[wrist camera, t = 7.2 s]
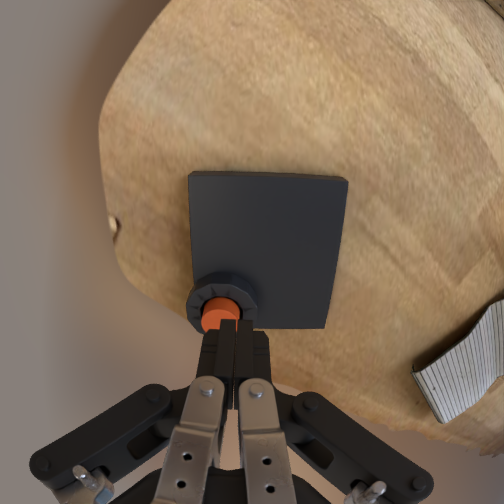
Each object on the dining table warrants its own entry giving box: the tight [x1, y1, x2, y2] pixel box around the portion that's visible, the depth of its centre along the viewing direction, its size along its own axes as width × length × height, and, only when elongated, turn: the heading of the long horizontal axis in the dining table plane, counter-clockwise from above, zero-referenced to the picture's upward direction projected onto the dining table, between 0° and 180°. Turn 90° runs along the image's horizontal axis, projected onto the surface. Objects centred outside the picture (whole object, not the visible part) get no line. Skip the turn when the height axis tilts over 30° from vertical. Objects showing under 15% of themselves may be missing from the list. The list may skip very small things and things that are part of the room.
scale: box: [186, 171, 348, 337], centre depth 24 cm, size 12×14×4 cm
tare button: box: [201, 297, 240, 332], centre depth 24 cm, size 3×3×2 cm
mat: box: [410, 298, 504, 424], centre depth 31 cm, size 23×24×5 cm
